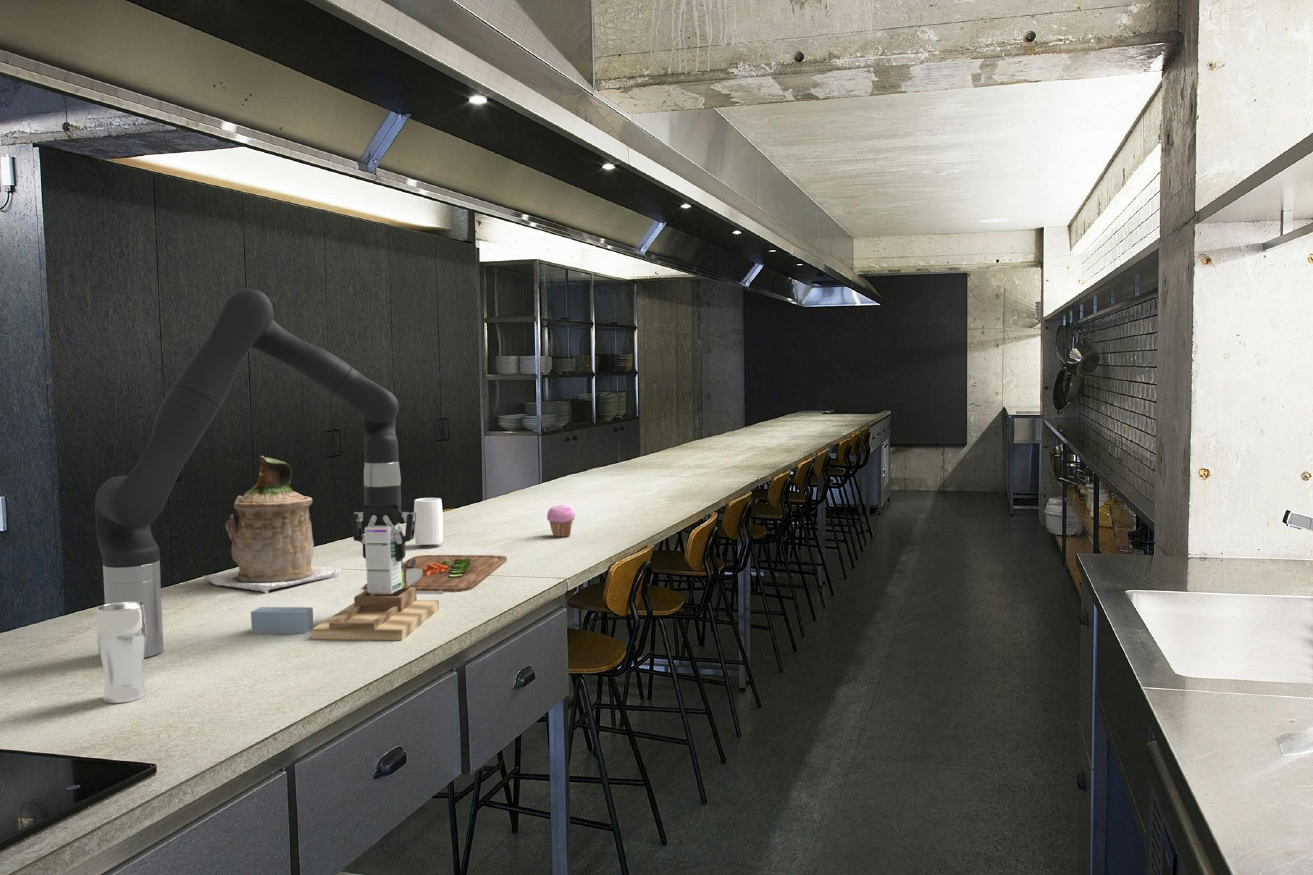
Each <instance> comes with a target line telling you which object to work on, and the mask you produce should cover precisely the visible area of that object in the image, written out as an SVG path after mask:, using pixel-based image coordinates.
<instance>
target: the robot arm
mask: <svg viewBox="0 0 1313 875" xmlns="http://www.w3.org/2000/svg"><path fill="white" fill-rule="evenodd" d="M252 348H253V349H255V350H257V351H260V352H262V353H264V354H266V355H268V356H270V357H272V358H273V359H276V360H278V361H279V362H281V363H282V364H284V365H286V366H288V367H290V368H291V369H293V370H294V371H296V372H297V373H299V374H301V375H302V376H304V377H305V378H306V379H308V380H310V381H311V382H313V383H314V384H316V385H317V386H319V387H320V388H322V389H324V390H325V391H327V392H328V393H330V394H331V395H332V396H334V397H336V398H338V399H339V400H342V401H344V402H346V403H347V404H349V405H350V406H351V407H352V408H354V409H356V411H358V412H359V413H361V414H362V425H363V433H364V443H363V445H364V446H363V450H364V451H363V452H364V466H363V494H364V496H363V497H364V509H363V512H362V511H361V512H360V511H355V512H353V513H351V514H349V519H350V525H351V532H352V537H353V538H352V539H353V540H354V541H355V542H359V543H361V544H362V557H363V559H366V548H365V533H364V532H363V527H362V522H363V519H365V521H366V522H367V524H368V525H367V526H366V527H369V526H375V525H387V526H391V527H392V529H393V530H392V535H393V536H394V538H395V540H396V542H397V544H396V561H402V560H403V559H405V557H406V543H407V542H410V541H412V540H413V539H415V522H416V513H415V512H414V511H413V512H407V511H404V510H403V508H402V494H401V492H402V490H401V489H402V488H401V487H402V486H401V484H402V483H401V482H402V478H401V469H400V461H399V442H398V438H397V434H396V416H397V415H398V414H399V410H400V409H399V402H398V399H397V397H396V396H395V395H394V394H393V393H392V392H391V391H389V390H388V389H386V388H384V387H382V386H381V385H379V384H377V383H376V382H374V381H373V380H371V379H369V378H368V377H366V376H364V375H363V374H361V373H360V371H358V370H357V369H355V368H354V367H352V366H351V365H350V364H348V363H347V362H345V361H344V360H342V359H341V358H340V357H338V356H336V355H335V354H333V353H331V352H329V351H327V350H325V349H324V348H321V347H319V346H316V345H314V344H312V343H310V342H307V341H305V340H303V339H301V338H299V337H297V336H296V335H294V334H292V333H290V332H289V331H288V330H286V329H285V328H283V327H282V326H281V325H279V323H277V322H276V321H275V320H274V308H273V305H272V302H271V300H270V299H269V297H268V296H267V295H266V294H265V293H264V292H262V291H260V290H258V289H255V288H254V289H253V288H243V289H240V290H237V291H236V292H234V293H232V294H230V296H228V297H227V299H226V300H225V302H224V304H223V307H222V309H221V312H220V314H219V316H218V318H217V321H216V323H215V325H214V326H213V329H212V331H211V332H210V334H209V336H208V338H207V340H206V341H205V342H204V343H203V345H202V346H201V348H200V349H199V350H198V351H197V353H196V354H195V355H194V356H193V358H192V359H191V360H190V361H189V362H188V364H187V365H186V366H185V368H184V369H183V371H182V372H181V373H180V374H179V376H178V377H177V379H176V380H175V382H174V383H173V385H172V386H171V388H170V389H169V390H168V392H167V394H166V395H165V396H164V399H163V400H162V402H161V404H160V405H159V407H158V410H157V412H156V416H155V419H154V422H153V425H152V431H151V434H150V438H149V442H148V444H147V447H146V449H145V451H144V452H143V454H142V456H141V457H140V459H139V460H138V462H137V463H136V464H135V466H134V467H133V469H132V470H131V472H130V473H129V474H128V475H117V476H114V477H111V478H109V479H107V480H105V481H104V482H103V483H102V485H101V486H100V487H99V488H98V489H97V492H96V496H95V501H94V515H95V525H96V526H95V527H96V536H97V545H98V548H99V551H100V554H101V557H102V572H103V573H102V574H103V591H104V605H105V604H109V603H115V602H123V601H139V602H143V603H144V611H145V619H146V646H145V653H144V659H146V658H151V657H153V656H156V655H158V654H161V653H163V652H164V649H165V648H164V627H163V605H162V588H161V587H162V586H161V585H162V584H161V583H162V582H161V562H160V557H161V556H160V548H159V546H158V543H157V542H156V541H155V538H154V537H153V533H152V529H151V523H152V522H154V521H155V520H156V519H158V517H159V515H160V514H161V513H162V511H163V509H164V507H165V505H166V503H167V500H168V499H169V496H170V494H171V492H172V491H173V488H174V485H175V483H176V482H177V479H178V478H179V475H180V473H181V472H182V470H183V468H184V466H185V464H186V463H187V461H188V459H189V458H190V456H191V455H192V454H193V452H194V450H195V449H196V447H197V446H198V444H199V442H200V441H201V439H202V437H203V436H204V434H205V433H206V431H207V430H208V429H209V427H210V425H211V424H212V422H213V420H214V419H215V417H216V415H217V413H218V412H219V411H220V409H221V407H222V405H223V403H224V402H225V399H226V397H227V396H228V393H229V391H230V389H231V387H232V385H233V382H234V380H235V377H236V375H237V373H238V371H239V369H240V366H241V365H242V362H243V360H244V358H245V357H246V356H247V354H248V352H249V351H250V350H251V349H252ZM402 518H403V521H404V523H406V524H405V534H404V532H403V529H402V525H401V526H400V524H401V523H400V521H401V520H402ZM399 523H400V524H399ZM397 524H398V529H396V528H395V526H396V525H397ZM403 561H404V560H403Z"/></svg>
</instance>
